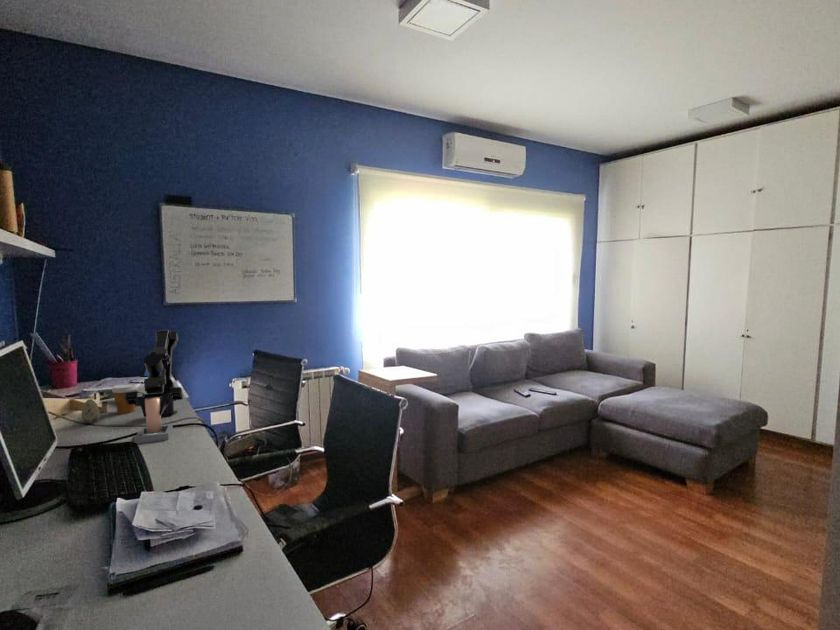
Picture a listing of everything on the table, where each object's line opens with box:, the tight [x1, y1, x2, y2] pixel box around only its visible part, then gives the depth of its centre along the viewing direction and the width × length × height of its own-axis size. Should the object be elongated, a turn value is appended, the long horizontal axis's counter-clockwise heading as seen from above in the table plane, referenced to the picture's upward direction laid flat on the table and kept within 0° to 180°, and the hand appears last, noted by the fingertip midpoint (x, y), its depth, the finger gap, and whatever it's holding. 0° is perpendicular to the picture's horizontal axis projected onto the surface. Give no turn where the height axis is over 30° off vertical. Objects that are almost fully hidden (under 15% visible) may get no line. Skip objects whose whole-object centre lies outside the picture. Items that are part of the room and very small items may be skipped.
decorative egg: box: [81, 399, 101, 424], centre depth 175 cm, size 6×6×10 cm
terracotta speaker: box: [145, 397, 163, 434], centre depth 160 cm, size 5×5×12 cm
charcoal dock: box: [134, 423, 174, 444], centre depth 160 cm, size 11×11×3 cm
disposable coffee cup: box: [111, 382, 138, 415], centre depth 189 cm, size 10×10×12 cm
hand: (152, 415), depth 158 cm, fingers closed on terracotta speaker, 5 cm apart
